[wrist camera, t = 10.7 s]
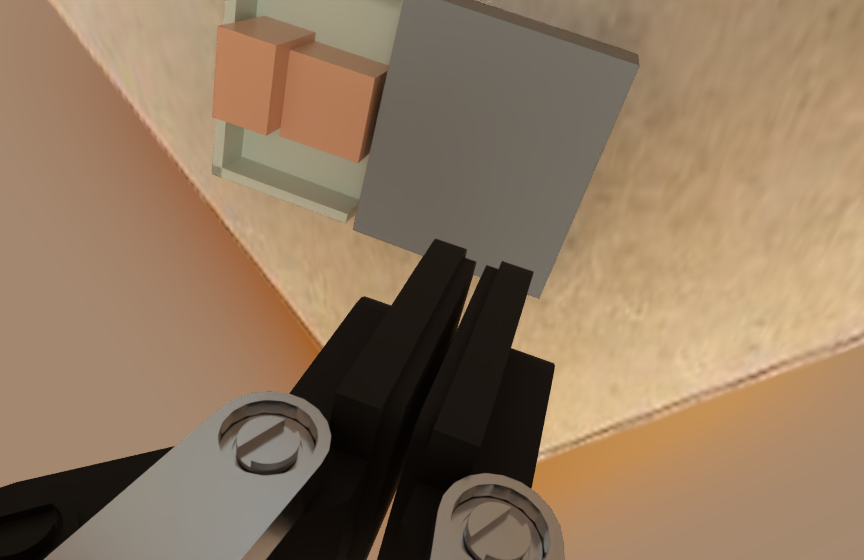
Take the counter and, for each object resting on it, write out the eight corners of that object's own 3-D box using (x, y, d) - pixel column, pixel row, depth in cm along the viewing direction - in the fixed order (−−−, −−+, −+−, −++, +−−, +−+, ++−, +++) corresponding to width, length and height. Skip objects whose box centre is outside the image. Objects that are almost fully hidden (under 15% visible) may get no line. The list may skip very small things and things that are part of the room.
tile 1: (276, 45, 29) (218, 25, 30) (266, 135, 32) (212, 117, 32) (315, 32, 33) (263, 15, 33) (304, 113, 35) (255, 97, 36)
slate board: (637, 54, 30) (639, 65, 27) (544, 273, 37) (539, 298, 34) (423, -17, 31) (405, -12, 28) (370, 209, 38) (352, 229, 35)
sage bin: (412, -20, 31) (396, -17, 29) (361, 206, 38) (345, 223, 36) (257, -71, 32) (230, -71, 30) (234, 160, 38) (211, 173, 36)
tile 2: (393, 67, 33) (375, 78, 30) (376, 146, 35) (358, 163, 33) (314, 41, 33) (289, 49, 31) (303, 121, 36) (279, 135, 33)
